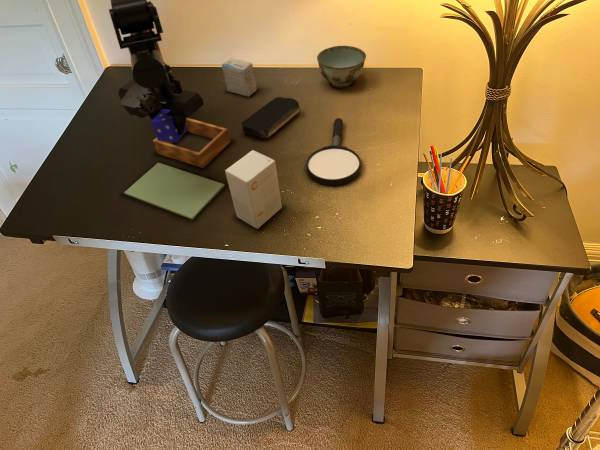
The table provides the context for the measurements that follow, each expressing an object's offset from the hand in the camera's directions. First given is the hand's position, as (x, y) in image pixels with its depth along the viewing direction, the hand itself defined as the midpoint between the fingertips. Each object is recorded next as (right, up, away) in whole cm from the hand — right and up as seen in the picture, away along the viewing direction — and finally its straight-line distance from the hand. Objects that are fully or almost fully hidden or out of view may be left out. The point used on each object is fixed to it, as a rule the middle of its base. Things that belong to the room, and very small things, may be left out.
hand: (171, 131), depth 103 cm
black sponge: (+21, +6, +19) cm, 29 cm away
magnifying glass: (+37, -4, +9) cm, 38 cm away
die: (0, -1, +1) cm, 1 cm away
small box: (+20, -18, -4) cm, 27 cm away
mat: (0, -13, +3) cm, 13 cm away
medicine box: (+12, +18, +32) cm, 39 cm away
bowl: (+41, +20, +32) cm, 55 cm away
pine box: (+2, -1, +14) cm, 15 cm away
